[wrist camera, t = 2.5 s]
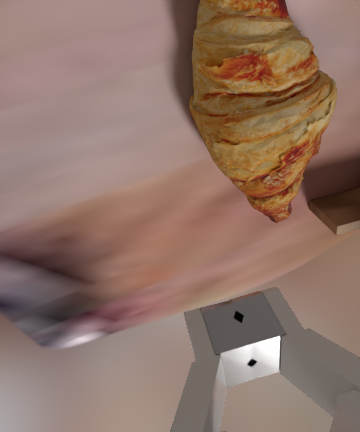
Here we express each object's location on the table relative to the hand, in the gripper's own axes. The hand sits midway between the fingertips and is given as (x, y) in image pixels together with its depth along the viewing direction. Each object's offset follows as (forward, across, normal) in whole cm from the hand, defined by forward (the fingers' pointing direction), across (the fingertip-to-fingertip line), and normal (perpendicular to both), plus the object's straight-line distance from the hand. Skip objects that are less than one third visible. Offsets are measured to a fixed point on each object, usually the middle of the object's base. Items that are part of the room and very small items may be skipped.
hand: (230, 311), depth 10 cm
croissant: (+18, -8, 0) cm, 20 cm away
